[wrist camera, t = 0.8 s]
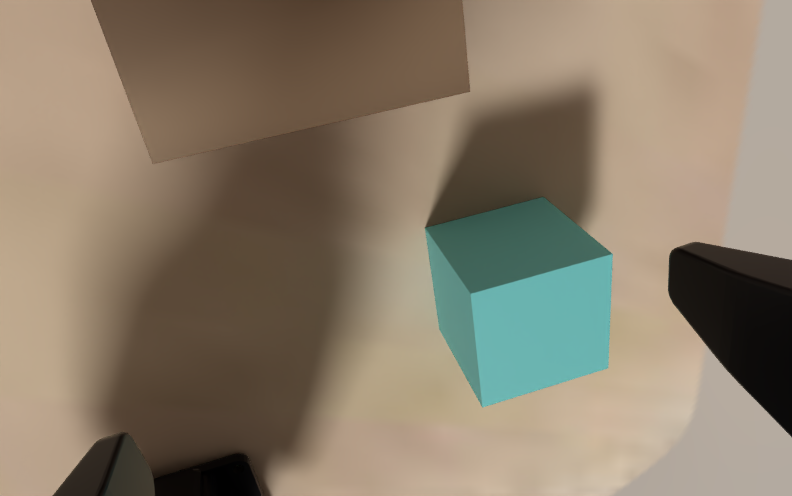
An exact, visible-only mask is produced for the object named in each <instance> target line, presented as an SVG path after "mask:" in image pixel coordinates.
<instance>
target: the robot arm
mask: <svg viewBox="0 0 792 496" xmlns="http://www.w3.org/2000/svg"><path fill="white" fill-rule="evenodd" d="M668 292H669V296H670V298H671V300H672V302H673V304H674V305H675V306H676V308H677V309H678V310H679V311H680V313H681V314H682V315H683V316H684V318H685V319H686V320H687V321H688V323H689V324H690V325H691V326H692V328H693V329H694V330H695V331H696V333H697V334H698V335H699V336H700V338H701V339H702V340H703V341H704V343H705V344H706V345H707V346H708V348H709V349H710V350H711V352H712V353H713V354H714V355H715V357H716V358H717V359H718V360H719V361H720V363H721V364H722V365H723V366H724V367H725V368H726V370H727V371H728V372H729V373H730V374H731V375H732V376H733V377H734V378H735V379H736V381H737V382H738V383H739V384H741V386H743V388H744V389H745V390H746V391H747V392H748V393H749V394H750V395H751V396H752V397H753V398H754V399H755V400H756V401H757V402H758V403H759V404H760V405H761V406H762V407H763V408H764V409H765V410H766V411H767V412H768V413H769V414H770V415H771V416H772V417H773V418H774V419H775V420H776V421H777V422H778V423H779V425H781V427H782V428H783V429H784V430H785V431H786V432H787V433H788V434H789V435H790V436H791V437H792V260H789V259H784V258H778V257H773V256H768V255H763V254H758V253H752V252H747V251H741V250H737V249H731V248H726V247H721V246H716V245H711V244H705V243H700V242H692V243H689V244H686V245H683V246H680V247H677V248H675V249H673V250H672V251H671V253H670V256H669V278H668ZM236 465H241V466H239V467H235V466H236ZM53 496H264V494H263V492H262V489H261V487H260V484H259V482H258V479H257V477H256V474H255V472H254V469H253V467H252V464H251V462H250V459H249V458H248V456H246V455H244V454H234V455H231V456H228V457H225V458H221V459H218V460H215V461H211V462H208V463H205V464H202V465H198V466H195V467H192V468H189V469H185V470H182V471H179V472H175V473H172V474H169V475H166V476H162V477H159V478H156V479H153V475H152V472H151V469H150V467H149V465H148V464H147V462H146V460H145V459H144V457H143V455H142V454H141V452H140V450H139V448H138V447H137V445H136V443H135V442H134V440H133V438H132V437H131V436H130V435H129V434H128V433H125V432H121V433H118V434H115V435H112V436H109V437H106V438H103V439H100V440H98V441H97V442H96V443H95V444H94V445H93V446H92V447H91V449H90V450H89V451H88V452H87V453H86V455H85V456H84V457H83V458H82V460H81V461H80V462H79V463H78V465H77V466H76V467H75V468H74V470H73V471H72V472H71V473H70V475H69V476H68V477H67V478H66V480H65V481H64V482H63V483H62V485H61V486H60V487H59V488H58V490H57V491H56V492H55V493H54V495H53Z"/></svg>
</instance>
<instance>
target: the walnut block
mask: <svg viewBox="0 0 792 496" xmlns="http://www.w3.org/2000/svg"><path fill="white" fill-rule="evenodd" d="M91 2H92V5H93V7H94V10H95V12H96V15H97V18H98V20H99V23H100V26H101V28H102V31H103V34H104V36H105V39H106V42H107V44H108V47H109V49H110V52H111V55H112V57H113V60H114V63H115V65H116V68H117V71H118V73H119V76H120V79H121V81H122V84H123V87H124V89H125V92H126V94H127V97H128V100H129V102H130V105H131V108H132V110H133V113H134V116H135V118H136V121H137V124H138V126H139V129H140V131H141V134H142V137H143V139H144V142H145V145H146V147H147V150H148V153H149V155H150V158H151V161H152V163H153V164H155V163H160V162H164V161H168V160H173V159H177V158H181V157H186V156H190V155H195V154H199V153H203V152H208V151H212V150H217V149H221V148H225V147H230V146H234V145H238V144H243V143H247V142H252V141H256V140H260V139H265V138H269V137H274V136H278V135H282V134H287V133H291V132H295V131H300V130H304V129H309V128H313V127H317V126H322V125H326V124H330V123H335V122H339V121H344V120H348V119H352V118H357V117H361V116H366V115H370V114H374V113H379V112H383V111H387V110H392V109H396V108H401V107H405V106H409V105H414V104H418V103H422V102H427V101H431V100H436V99H440V98H444V97H449V96H453V95H458V94H462V93H466V92H470V84H469V73H468V61H467V50H466V39H465V27H464V16H463V4H462V0H91Z"/></svg>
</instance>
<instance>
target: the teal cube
mask: <svg viewBox="0 0 792 496" xmlns="http://www.w3.org/2000/svg"><path fill="white" fill-rule="evenodd" d="M425 231H426V238H427V245H428V252H429V259H430V266H431V273H432V280H433V287H434V294H435V301H436V308H437V315H438V322H439V329H440V331H441V333H442V335H443V337H444V338H445V340H446V342H447V344H448V346H449V348H450V349H451V351H452V353H453V355H454V357H455V358H456V360H457V362H458V364H459V366H460V367H461V369H462V371H463V373H464V375H465V377H466V378H467V380H468V382H469V384H470V386H471V387H472V389H473V391H474V393H475V395H476V396H477V398H478V400H479V402H480V404H481V406H482V407H485V406H489V405H492V404H495V403H498V402H501V401H505V400H508V399H511V398H514V397H517V396H521V395H524V394H527V393H530V392H533V391H537V390H540V389H543V388H546V387H549V386H553V385H556V384H559V383H562V382H565V381H569V380H572V379H575V378H578V377H581V376H585V375H588V374H591V373H594V372H597V371H601V370H604V369H607V368H608V361H609V334H610V308H611V282H612V256H613V254H612V253H611V252H610V251H608V250H607V249H606V248H605V247H604V246H602V245H601V244H600V243H599V242H597V241H596V240H595V239H594V238H593V237H591V236H590V235H589V234H588V233H587V232H585V231H584V230H583V229H582V228H581V227H579V226H578V225H577V224H576V223H574V222H573V221H572V220H571V219H570V218H568V217H567V216H566V215H565V214H564V213H562V212H561V211H560V210H559V209H557V208H556V207H555V206H554V205H553V204H551V203H550V202H549V201H548V200H547V199H545V198H544V197H541V198H537V199H534V200H530V201H526V202H522V203H518V204H514V205H511V206H507V207H503V208H499V209H495V210H491V211H488V212H484V213H480V214H476V215H472V216H469V217H465V218H461V219H457V220H453V221H449V222H446V223H442V224H438V225H434V226H430V227H426V228H425Z"/></svg>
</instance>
